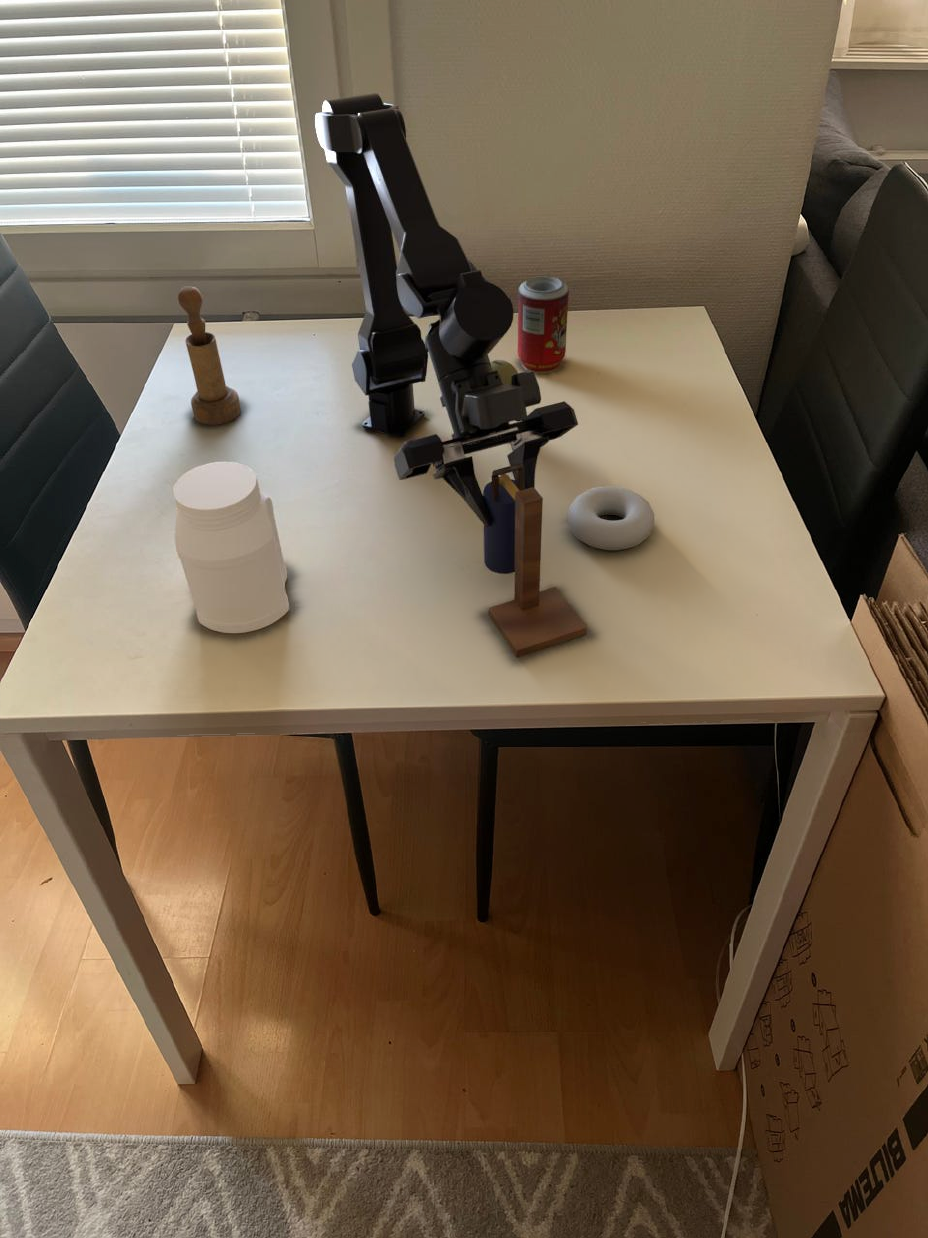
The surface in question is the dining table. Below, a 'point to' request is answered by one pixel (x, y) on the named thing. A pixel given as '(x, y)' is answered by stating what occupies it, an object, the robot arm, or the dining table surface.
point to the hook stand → (532, 586)
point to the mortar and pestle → (206, 367)
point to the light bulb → (503, 370)
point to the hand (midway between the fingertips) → (509, 520)
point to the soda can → (542, 323)
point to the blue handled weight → (501, 522)
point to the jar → (229, 548)
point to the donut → (611, 532)
